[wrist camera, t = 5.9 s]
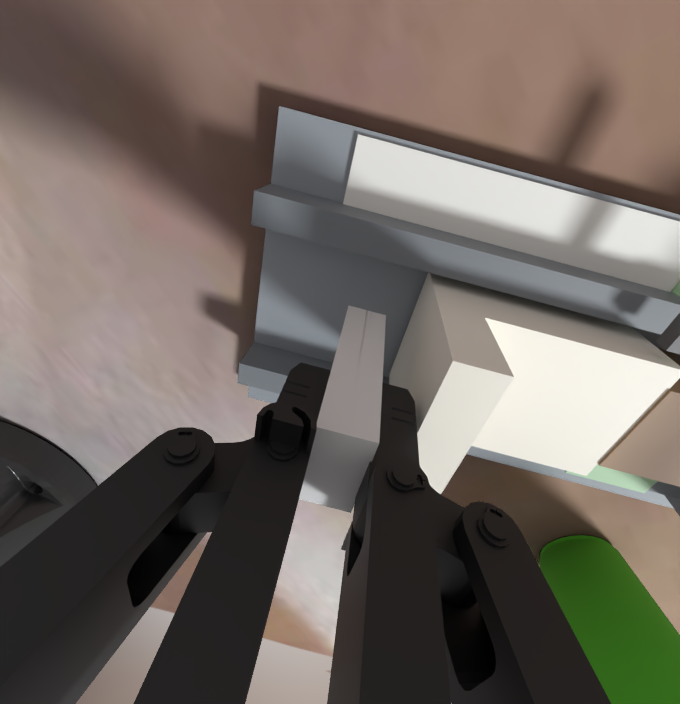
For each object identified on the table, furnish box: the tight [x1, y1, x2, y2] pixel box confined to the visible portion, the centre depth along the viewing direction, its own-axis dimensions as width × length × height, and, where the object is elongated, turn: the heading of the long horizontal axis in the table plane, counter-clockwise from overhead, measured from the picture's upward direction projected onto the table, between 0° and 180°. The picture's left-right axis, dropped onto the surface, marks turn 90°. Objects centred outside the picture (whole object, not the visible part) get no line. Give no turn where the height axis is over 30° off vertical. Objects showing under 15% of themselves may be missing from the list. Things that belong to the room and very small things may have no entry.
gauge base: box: [238, 106, 680, 516], centre depth 14 cm, size 26×14×8 cm, turn 77°
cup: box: [539, 535, 680, 704], centre depth 21 cm, size 9×9×11 cm
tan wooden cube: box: [598, 348, 680, 487], centre depth 15 cm, size 4×4×4 cm
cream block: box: [389, 272, 680, 494], centre depth 12 cm, size 9×11×7 cm
